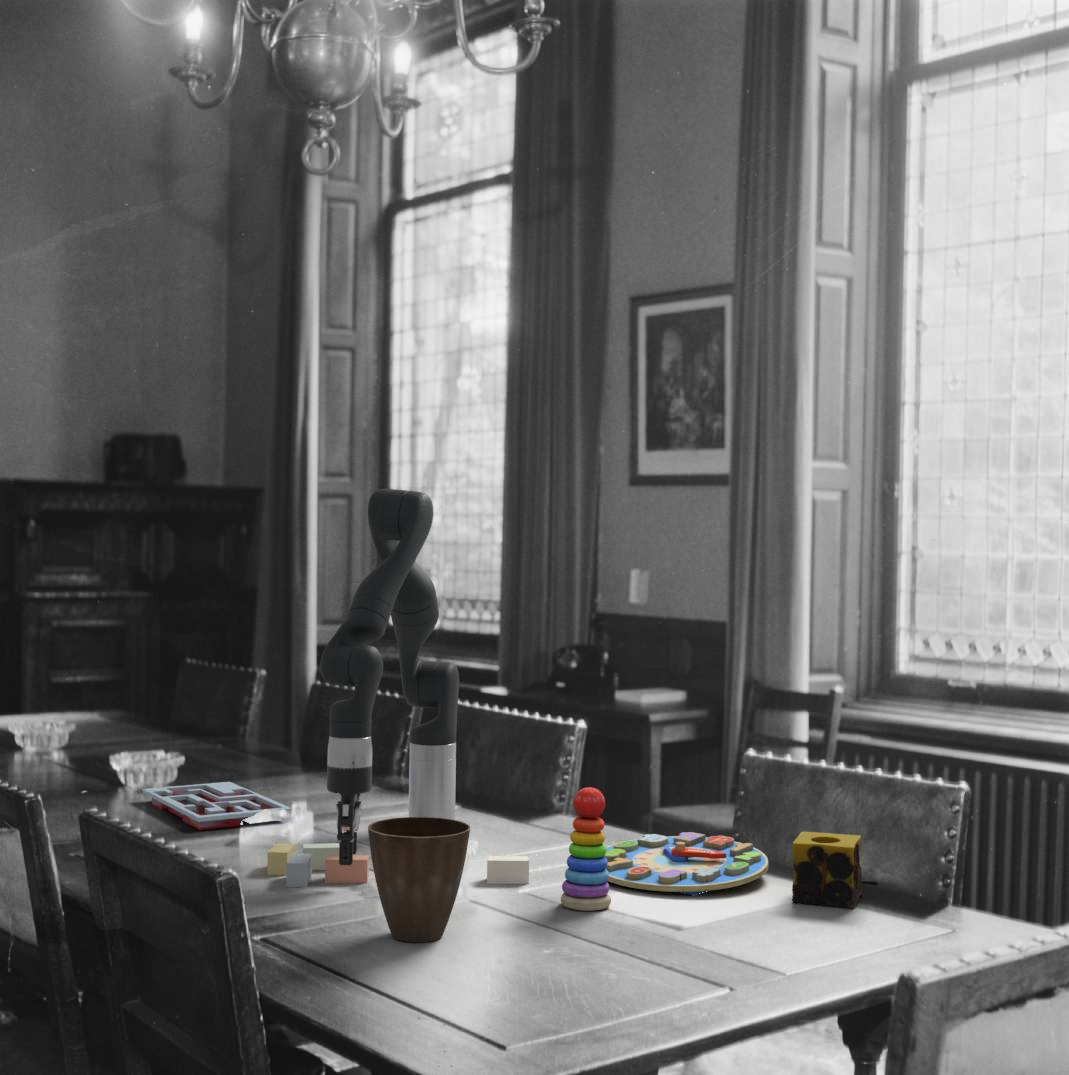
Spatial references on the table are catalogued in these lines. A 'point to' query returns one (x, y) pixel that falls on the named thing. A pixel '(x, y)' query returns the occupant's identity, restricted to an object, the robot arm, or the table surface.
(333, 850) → the brick sage
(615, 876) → the shape sorting clock
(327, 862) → the brick terracotta
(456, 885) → the plant pot
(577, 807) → the stacking toy
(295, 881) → the brick slate
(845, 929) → the table surface
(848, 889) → the yellow gear box toy
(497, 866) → the brick cream
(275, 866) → the brick ochre
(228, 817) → the maze game
